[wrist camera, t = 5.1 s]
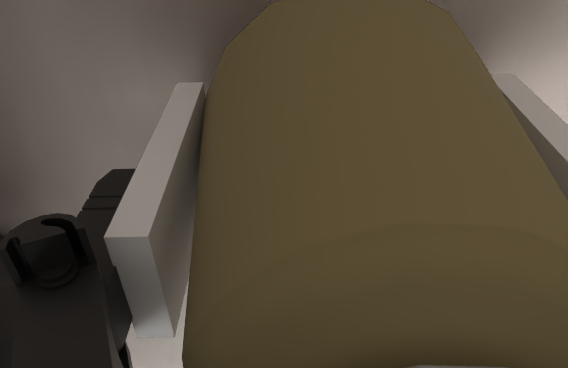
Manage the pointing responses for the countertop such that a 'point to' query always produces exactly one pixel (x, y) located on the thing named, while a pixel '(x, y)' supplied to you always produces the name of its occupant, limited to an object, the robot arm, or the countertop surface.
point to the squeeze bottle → (370, 202)
